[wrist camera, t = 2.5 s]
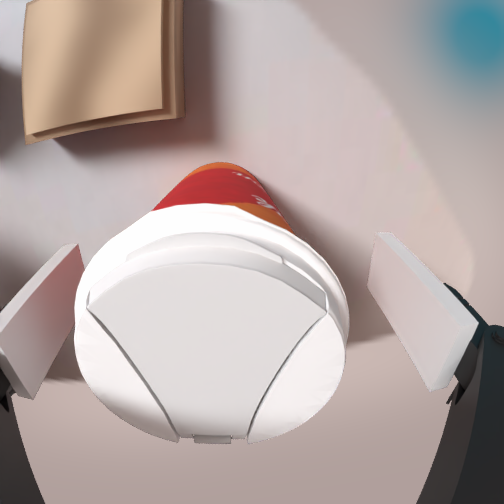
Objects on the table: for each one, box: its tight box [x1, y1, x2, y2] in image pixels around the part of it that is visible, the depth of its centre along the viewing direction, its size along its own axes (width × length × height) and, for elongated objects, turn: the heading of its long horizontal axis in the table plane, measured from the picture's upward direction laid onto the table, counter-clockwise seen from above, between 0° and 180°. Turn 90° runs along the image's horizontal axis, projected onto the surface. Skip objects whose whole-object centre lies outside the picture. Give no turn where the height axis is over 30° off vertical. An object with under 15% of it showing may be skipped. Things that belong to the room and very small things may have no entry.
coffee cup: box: [74, 162, 349, 444], centre depth 14 cm, size 8×8×15 cm
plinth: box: [22, 0, 185, 145], centre depth 14 cm, size 10×10×4 cm
